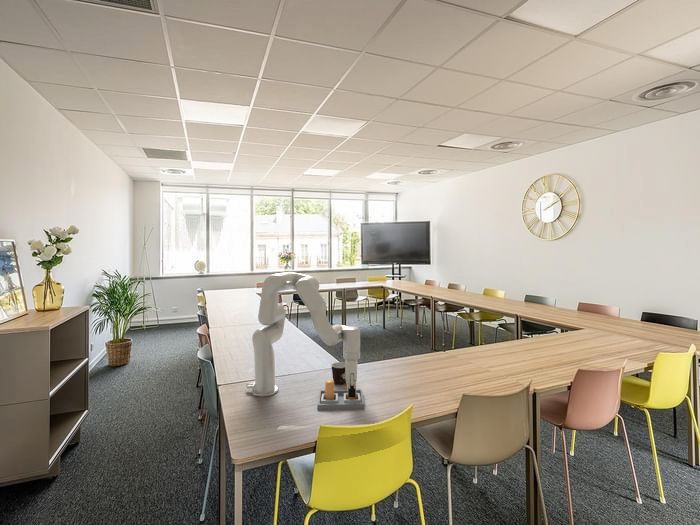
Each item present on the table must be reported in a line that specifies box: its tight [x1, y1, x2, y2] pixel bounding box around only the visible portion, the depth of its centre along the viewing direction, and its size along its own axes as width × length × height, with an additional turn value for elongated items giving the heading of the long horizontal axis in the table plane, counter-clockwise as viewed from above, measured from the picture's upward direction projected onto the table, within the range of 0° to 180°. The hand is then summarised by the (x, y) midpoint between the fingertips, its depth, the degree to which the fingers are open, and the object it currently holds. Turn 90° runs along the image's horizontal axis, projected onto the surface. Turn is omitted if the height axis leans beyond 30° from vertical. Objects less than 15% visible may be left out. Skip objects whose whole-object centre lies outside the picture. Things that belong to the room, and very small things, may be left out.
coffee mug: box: [330, 361, 347, 386], centre depth 175 cm, size 12×9×10 cm
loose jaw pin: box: [346, 380, 357, 399], centre depth 153 cm, size 4×4×9 cm
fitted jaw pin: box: [324, 379, 335, 400], centre depth 152 cm, size 4×4×9 cm
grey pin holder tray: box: [316, 389, 365, 411], centre depth 153 cm, size 20×15×3 cm
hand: (351, 394), depth 153 cm, fingers open, 4 cm apart
